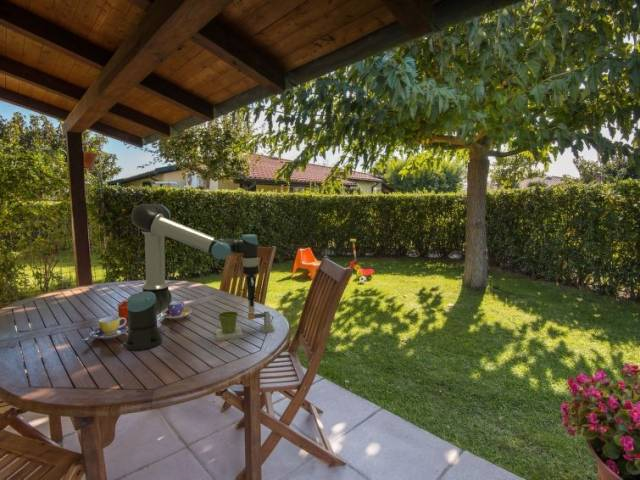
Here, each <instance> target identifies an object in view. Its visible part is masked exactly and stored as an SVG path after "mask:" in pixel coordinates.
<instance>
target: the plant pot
mask: <svg viewBox="0 0 640 480" xmlns="http://www.w3.org/2000/svg"><path fill="white" fill-rule="evenodd" d="M217 315H218V318H219V321H220V326H221V329H222V331H223V333H230V332H234V331H235V327H237V326H236V324H237V317H238V315H239V313H238V312H237V311H234V310H233V311H231V310H229V311H223V312H221V313H219V314H217Z"/></svg>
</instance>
